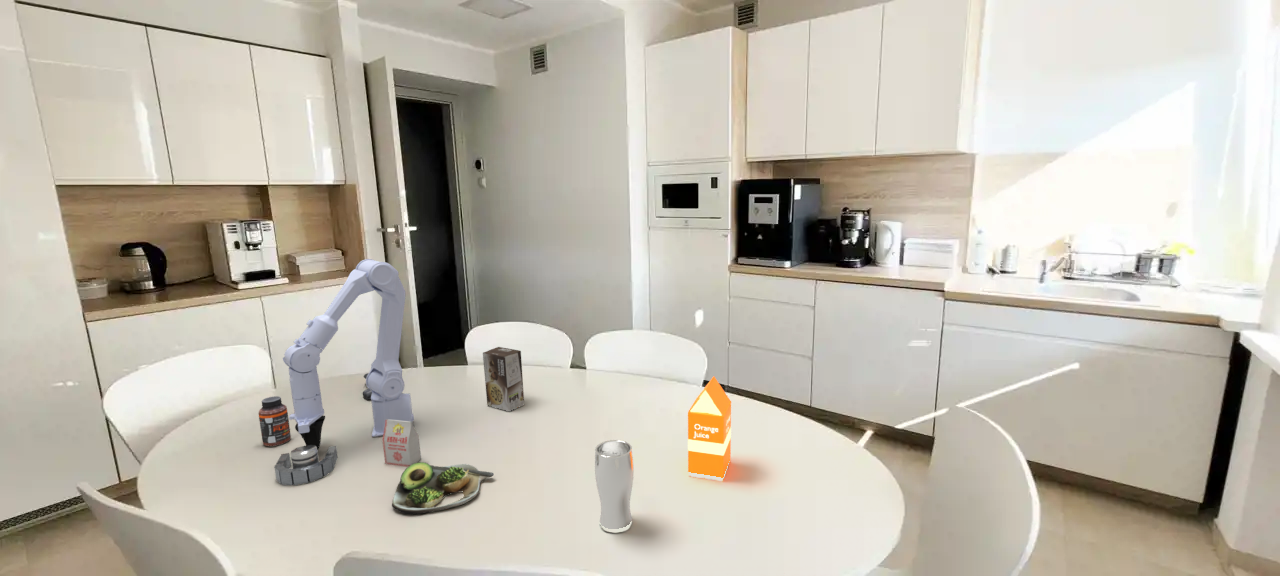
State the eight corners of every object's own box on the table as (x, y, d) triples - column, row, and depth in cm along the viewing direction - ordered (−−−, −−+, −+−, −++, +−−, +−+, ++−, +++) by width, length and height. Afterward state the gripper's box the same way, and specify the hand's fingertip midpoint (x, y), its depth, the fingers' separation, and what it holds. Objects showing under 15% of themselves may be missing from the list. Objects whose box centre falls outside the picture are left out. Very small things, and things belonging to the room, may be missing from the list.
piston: (322, 463, 127) (319, 443, 126) (317, 474, 122) (314, 453, 121) (296, 467, 125) (293, 447, 124) (290, 478, 120) (287, 457, 120)
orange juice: (731, 462, 124) (732, 376, 120) (723, 482, 115) (724, 391, 112) (696, 457, 126) (696, 373, 122) (687, 476, 118) (686, 387, 114)
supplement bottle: (277, 448, 135) (270, 404, 133) (257, 446, 136) (249, 403, 134) (297, 437, 140) (290, 395, 138) (277, 435, 142) (270, 393, 140)
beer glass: (596, 513, 105) (594, 440, 102) (633, 511, 106) (631, 438, 103) (597, 536, 98) (594, 458, 96) (636, 534, 99) (634, 456, 96)
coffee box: (525, 404, 158) (522, 350, 155) (509, 412, 153) (505, 356, 150) (502, 398, 163) (499, 345, 160) (486, 406, 158) (481, 351, 155)
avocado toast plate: (495, 463, 126) (493, 444, 125) (492, 507, 109) (491, 485, 108) (404, 474, 122) (402, 455, 121) (387, 522, 105) (384, 499, 104)
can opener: (390, 397, 166) (388, 380, 165) (365, 403, 163) (363, 385, 161) (380, 381, 181) (378, 364, 180) (357, 385, 177) (354, 368, 176)
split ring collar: (337, 457, 130) (336, 445, 129) (330, 479, 120) (328, 466, 119) (283, 466, 126) (281, 454, 125) (271, 489, 116) (269, 476, 116)
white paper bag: (396, 456, 130) (391, 415, 128) (421, 459, 128) (416, 418, 126) (385, 463, 126) (380, 422, 124) (410, 467, 125) (406, 425, 123)
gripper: (293, 387, 134) (301, 439, 137) (279, 409, 121) (287, 466, 123) (326, 382, 137) (333, 434, 139) (315, 404, 123) (323, 460, 126)
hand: (314, 449), depth 132 cm, fingers closed
